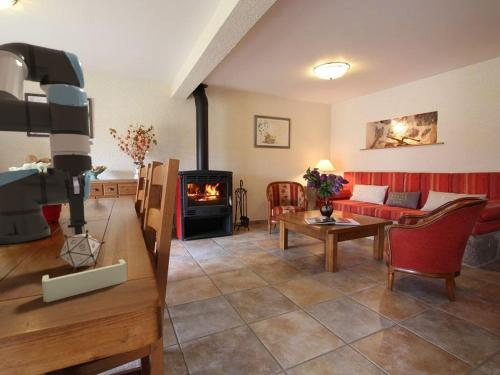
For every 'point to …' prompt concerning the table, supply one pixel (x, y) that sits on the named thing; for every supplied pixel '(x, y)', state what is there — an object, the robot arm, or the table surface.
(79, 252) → the game die
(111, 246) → the table surface
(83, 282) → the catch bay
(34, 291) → the table surface
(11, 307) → the table surface
